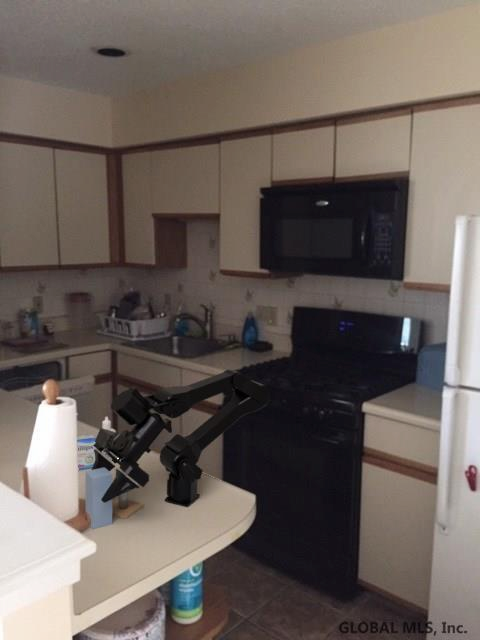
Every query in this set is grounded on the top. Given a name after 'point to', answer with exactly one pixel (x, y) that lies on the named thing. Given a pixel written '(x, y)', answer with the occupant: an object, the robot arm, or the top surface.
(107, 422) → the eye dropper bottle
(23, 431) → the top surface
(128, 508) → the pen stand
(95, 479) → the tall blue pillar
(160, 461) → the robot arm
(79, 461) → the medicine box
